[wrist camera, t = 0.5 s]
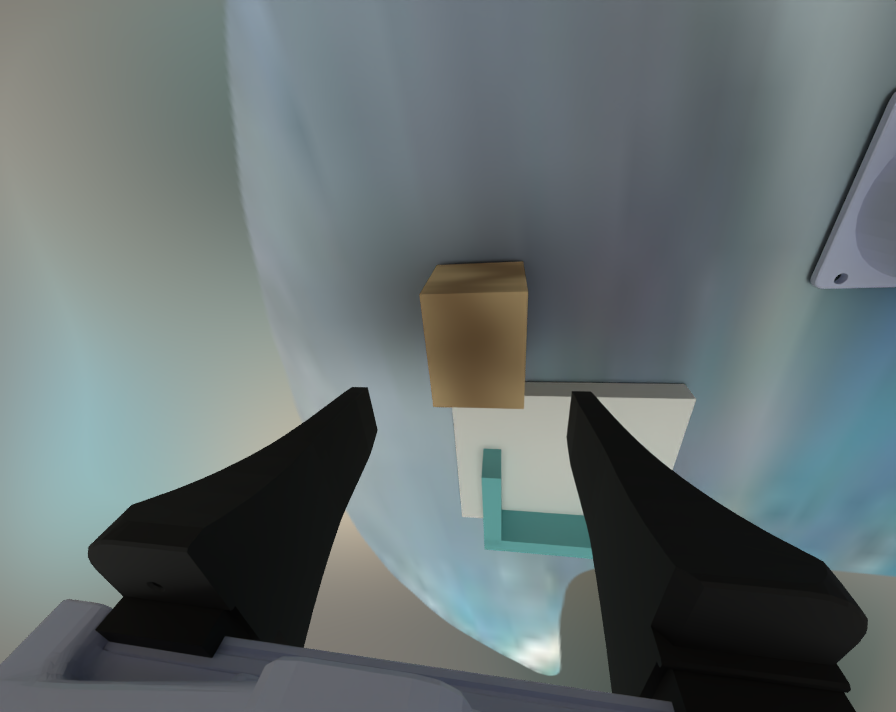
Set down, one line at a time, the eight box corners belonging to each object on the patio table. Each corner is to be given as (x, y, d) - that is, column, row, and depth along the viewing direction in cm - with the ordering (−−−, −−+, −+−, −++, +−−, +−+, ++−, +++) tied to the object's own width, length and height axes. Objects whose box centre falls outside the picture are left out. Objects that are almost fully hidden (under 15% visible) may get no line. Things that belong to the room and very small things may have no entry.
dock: (684, 383, 21) (719, 429, 18) (645, 512, 27) (665, 565, 24) (454, 381, 23) (445, 420, 20) (464, 500, 29) (458, 546, 26)
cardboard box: (522, 257, 19) (528, 291, 14) (519, 355, 22) (523, 409, 17) (439, 260, 19) (419, 294, 15) (447, 355, 22) (433, 406, 18)
